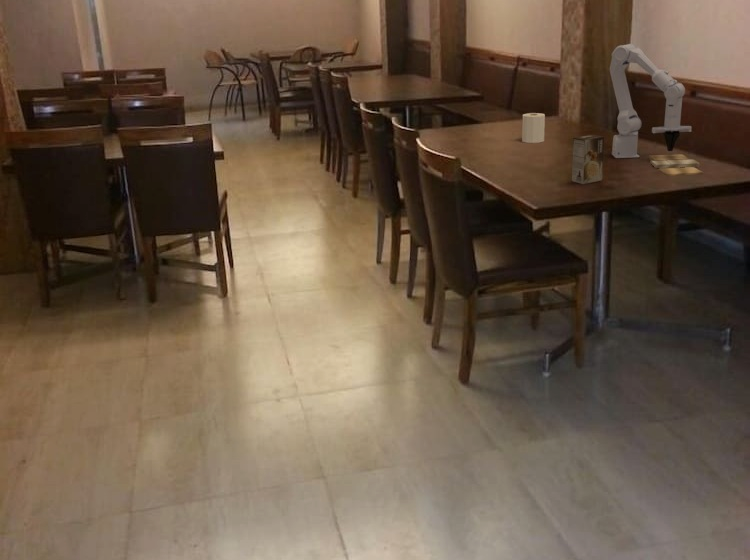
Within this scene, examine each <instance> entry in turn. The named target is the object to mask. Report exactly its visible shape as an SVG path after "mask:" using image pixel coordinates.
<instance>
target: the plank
mask: <svg viewBox="0 0 750 560" xmlns="http://www.w3.org/2000/svg"><path fill="white" fill-rule="evenodd" d="M658 171H659V172H661V173H663V174H664V175H665V176H668V177H673V176H689V175H704V171H702V170H700V169H698V168H697V167H685V168H659V169H658Z"/></svg>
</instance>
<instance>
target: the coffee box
mask: <svg viewBox="0 0 750 560" xmlns="http://www.w3.org/2000/svg"><path fill="white" fill-rule="evenodd" d="M572 140H573V141H572V166H571V167H572V169H571V170H572V172H571V182H574V183H577V184H581V185H586V184H590V183H596V182H601V181H603V173H604V172H603V170H604V169H603V168H604V150H605V147H604V146H605V136H602V135H596V134H587V135H582V136H575V137H573V138H572Z"/></svg>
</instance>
